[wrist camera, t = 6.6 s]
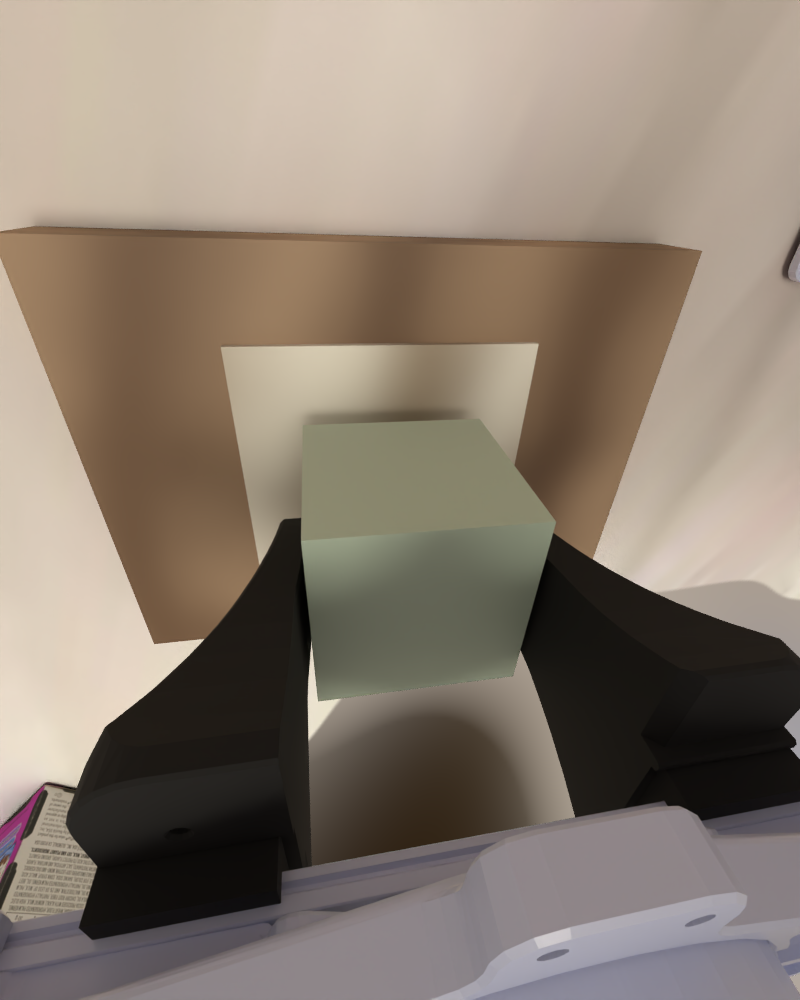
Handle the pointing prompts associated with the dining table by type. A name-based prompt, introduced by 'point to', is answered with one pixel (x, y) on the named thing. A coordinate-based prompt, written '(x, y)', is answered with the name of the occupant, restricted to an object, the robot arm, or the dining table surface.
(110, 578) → the dining table surface
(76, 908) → the candy bar box
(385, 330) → the base board
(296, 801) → the robot arm
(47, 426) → the dining table surface
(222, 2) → the dining table surface
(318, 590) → the sage cube
